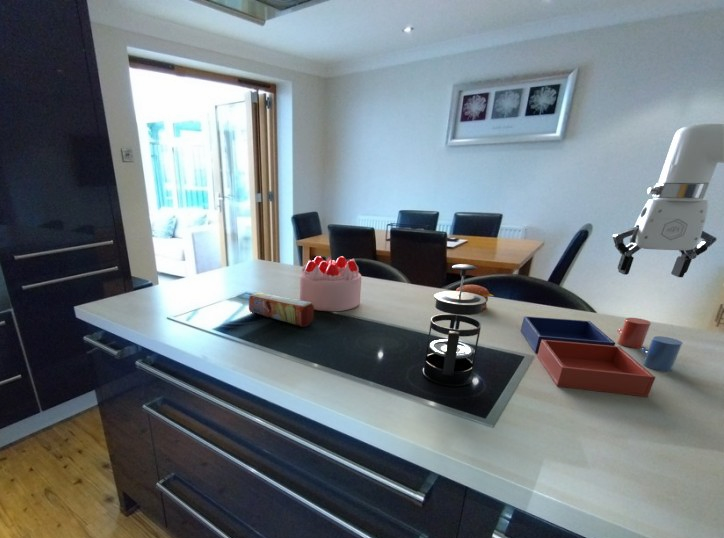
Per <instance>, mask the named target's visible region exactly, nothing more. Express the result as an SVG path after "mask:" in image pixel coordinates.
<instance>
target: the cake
mask: <svg viewBox="0 0 724 538" xmlns="http://www.w3.org/2000/svg"><path fill="white" fill-rule="evenodd" d="M359 271H360V270H359V266H358V265H357V263H356V259H355V258H354V257H353V258H352V259H349V260H348V261H347V259H346V257H345V256H343V255H342V256H339V257H338V258H337V259H336V260H334V259H332V258H331V257H330V256H327V260H324V259H323V257H322V256H321V255H317V256H316V257H315V258H314V260H311V258H308V260H307V261H306V263H305V264H304V266H303V267H302V269H301V273H300V275H299V300H300V301H305V302H311V303H312V304H313V307H314V311H319V312H321V311H322V312H342V311H347V310H352V309H355V308H357V307H358V306H359V304H360V303H361V291H362V274H361V273H360V272H359Z"/></svg>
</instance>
